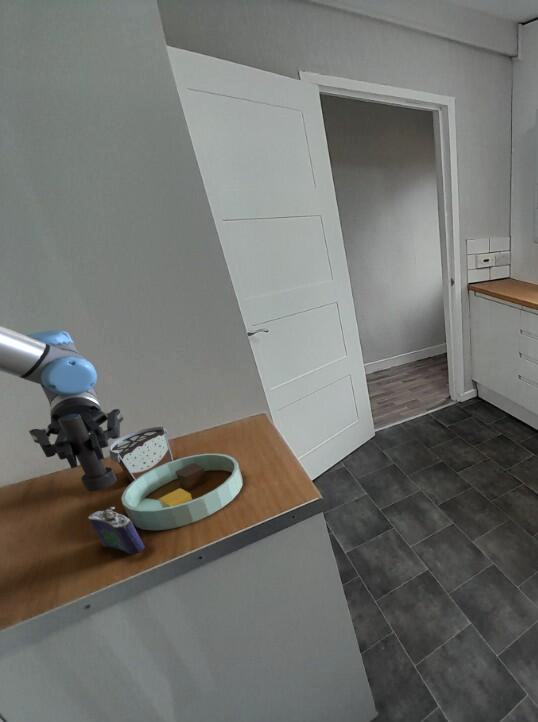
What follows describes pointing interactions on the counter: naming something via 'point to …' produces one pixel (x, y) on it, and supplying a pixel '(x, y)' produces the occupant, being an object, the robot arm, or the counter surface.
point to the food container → (141, 451)
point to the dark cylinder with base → (86, 454)
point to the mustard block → (175, 498)
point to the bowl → (158, 518)
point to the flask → (116, 531)
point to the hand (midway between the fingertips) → (85, 457)
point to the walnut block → (191, 476)
